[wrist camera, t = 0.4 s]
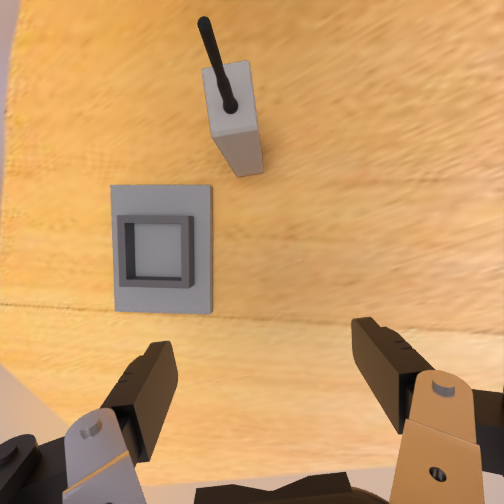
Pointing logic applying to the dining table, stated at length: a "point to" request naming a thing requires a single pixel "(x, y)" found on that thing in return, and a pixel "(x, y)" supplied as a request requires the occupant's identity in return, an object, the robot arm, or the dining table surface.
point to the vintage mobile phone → (231, 108)
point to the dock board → (162, 248)
